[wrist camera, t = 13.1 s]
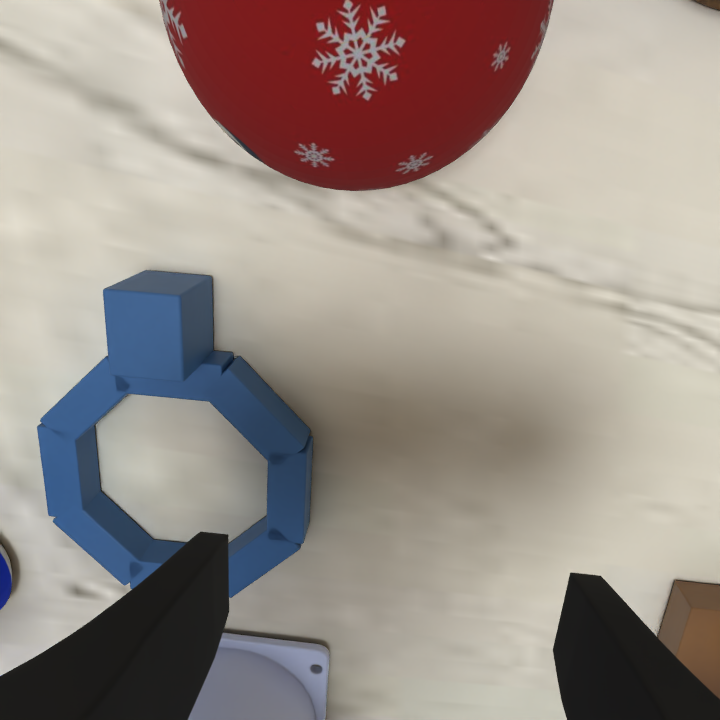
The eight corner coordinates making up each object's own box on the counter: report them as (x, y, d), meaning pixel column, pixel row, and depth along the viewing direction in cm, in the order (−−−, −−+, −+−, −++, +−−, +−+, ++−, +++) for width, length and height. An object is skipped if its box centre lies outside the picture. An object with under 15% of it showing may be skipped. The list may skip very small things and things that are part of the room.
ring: (306, 584, 24) (292, 641, 21) (75, 557, 25) (32, 610, 22) (320, 284, 20) (304, 306, 17) (41, 260, 21) (-18, 278, 18)
